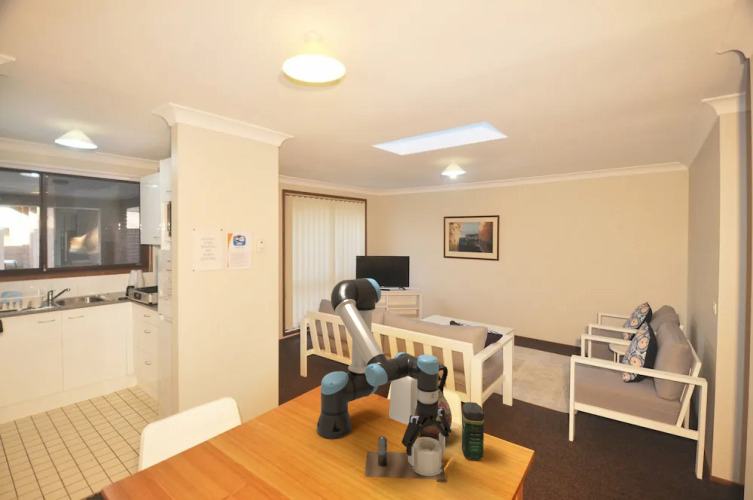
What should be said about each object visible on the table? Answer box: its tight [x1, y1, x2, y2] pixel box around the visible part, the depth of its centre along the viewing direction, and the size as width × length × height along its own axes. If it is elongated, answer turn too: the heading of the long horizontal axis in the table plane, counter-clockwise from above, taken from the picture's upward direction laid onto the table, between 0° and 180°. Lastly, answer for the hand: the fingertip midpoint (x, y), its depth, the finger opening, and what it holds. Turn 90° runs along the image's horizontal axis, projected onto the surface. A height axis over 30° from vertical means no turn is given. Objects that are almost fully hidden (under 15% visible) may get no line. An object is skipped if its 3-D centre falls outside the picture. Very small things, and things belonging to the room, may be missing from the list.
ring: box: [413, 436, 443, 474], centre depth 124 cm, size 10×10×7 cm
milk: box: [388, 376, 417, 426], centre depth 160 cm, size 12×12×26 cm
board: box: [364, 450, 447, 483], centre depth 124 cm, size 28×14×1 cm, turn 88°
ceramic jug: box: [415, 364, 453, 442], centre depth 144 cm, size 17×15×30 cm
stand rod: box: [377, 435, 388, 467], centre depth 124 cm, size 3×3×10 cm
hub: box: [410, 448, 445, 477], centre depth 124 cm, size 12×12×6 cm
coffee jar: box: [461, 401, 485, 461], centre depth 132 cm, size 10×8×19 cm
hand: (426, 457), depth 124 cm, fingers open, 13 cm apart
